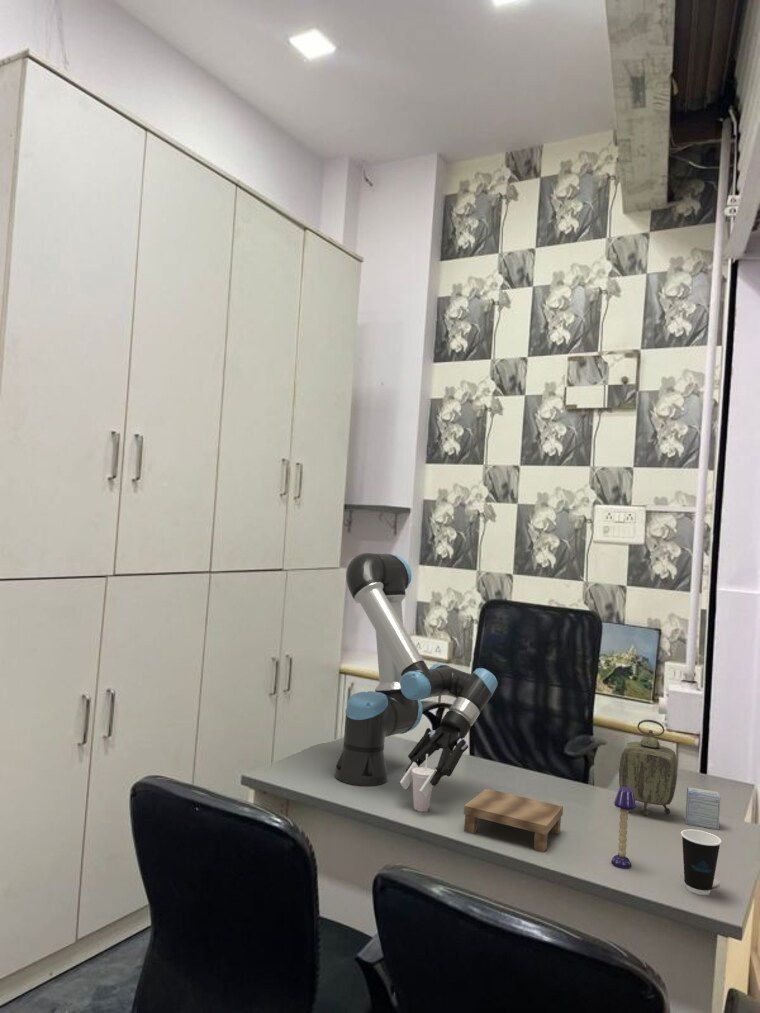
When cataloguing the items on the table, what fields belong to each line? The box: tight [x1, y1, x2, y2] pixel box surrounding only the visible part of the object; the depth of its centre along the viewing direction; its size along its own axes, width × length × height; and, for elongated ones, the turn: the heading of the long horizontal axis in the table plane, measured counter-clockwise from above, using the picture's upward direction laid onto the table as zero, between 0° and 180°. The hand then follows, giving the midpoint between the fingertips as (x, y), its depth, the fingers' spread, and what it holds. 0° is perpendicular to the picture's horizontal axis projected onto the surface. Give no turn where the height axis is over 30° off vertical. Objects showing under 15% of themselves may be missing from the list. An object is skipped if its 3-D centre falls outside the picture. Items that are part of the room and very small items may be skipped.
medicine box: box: [685, 786, 721, 830], centre depth 197 cm, size 8×4×9 cm, turn 71°
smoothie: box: [411, 754, 433, 813], centre depth 191 cm, size 6×6×14 cm
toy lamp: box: [610, 786, 637, 869], centre depth 167 cm, size 5×5×17 cm
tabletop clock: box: [618, 719, 678, 817], centre depth 202 cm, size 14×9×25 cm, turn 65°
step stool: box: [463, 788, 564, 853], centre depth 181 cm, size 20×16×6 cm
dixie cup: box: [680, 828, 723, 896], centre depth 157 cm, size 8×8×11 cm
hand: (412, 789), depth 189 cm, fingers closed on smoothie, 6 cm apart
